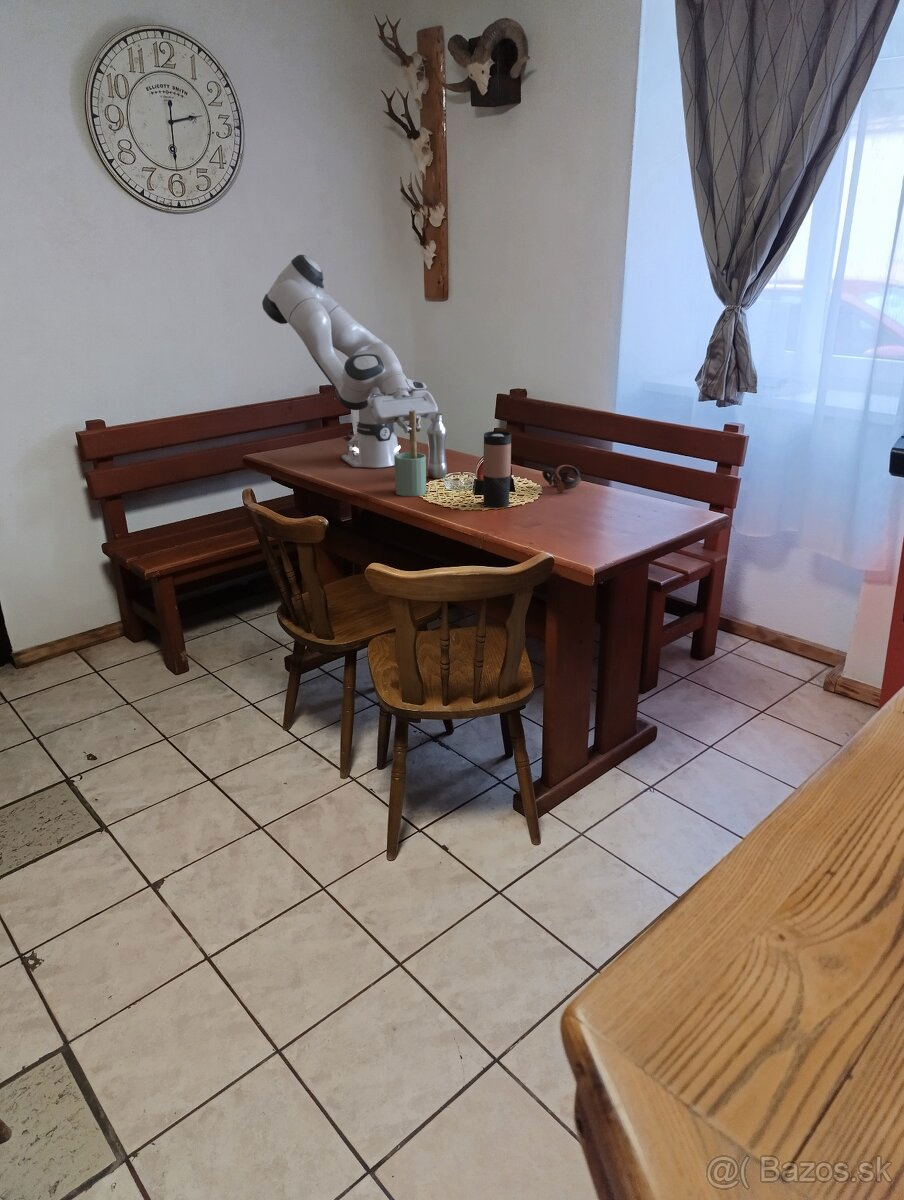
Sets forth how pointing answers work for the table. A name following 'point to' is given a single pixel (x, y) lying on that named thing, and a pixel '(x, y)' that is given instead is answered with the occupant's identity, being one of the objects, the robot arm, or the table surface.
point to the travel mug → (496, 468)
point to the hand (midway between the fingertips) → (413, 431)
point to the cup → (410, 474)
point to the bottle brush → (413, 434)
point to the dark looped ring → (562, 477)
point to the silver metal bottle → (436, 447)
